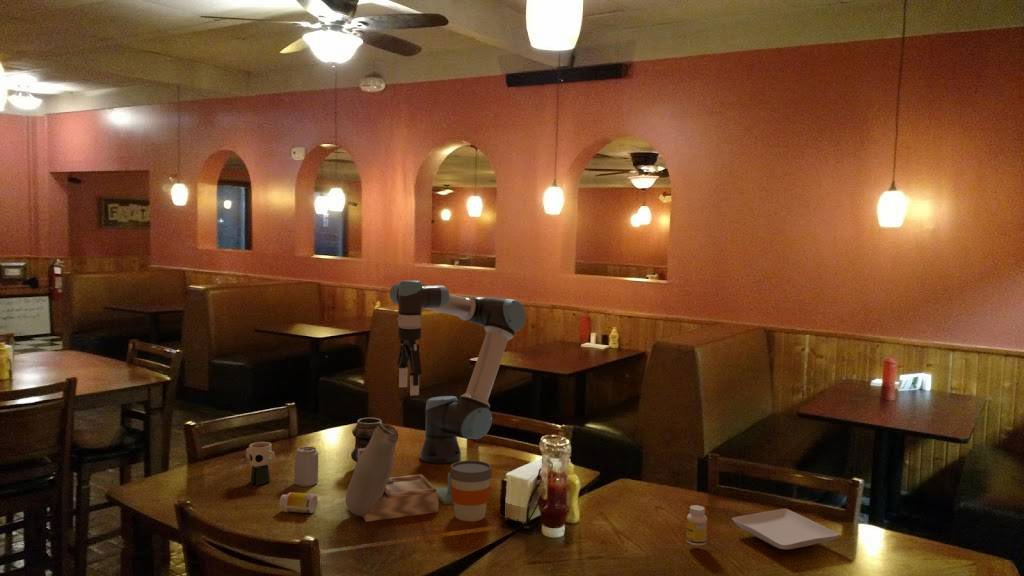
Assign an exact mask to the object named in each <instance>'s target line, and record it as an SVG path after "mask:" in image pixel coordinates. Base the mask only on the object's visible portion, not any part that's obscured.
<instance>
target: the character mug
mask: <svg viewBox="0 0 1024 576" xmlns="http://www.w3.org/2000/svg"><path fill="white" fill-rule="evenodd" d="M275 453H276V452H275V451H273V450H272V443H271V442H268V441H257V442H253V443H250V444H249V445H248V447H247V448H246V449H245V457H246V459H248V463H249V465H251V466H252V468H251V474H250V480H249V481H250V484H252V485H254V482H255V485H257V486H258V485H259V486H260V485H265V484H267V483H268V482H270V481H271V474H270V468H269V464H271V463H272V462H275V459H276V458H275V457H276V455H275Z"/></svg>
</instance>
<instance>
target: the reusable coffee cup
mask: <svg viewBox="0 0 1024 576" xmlns="http://www.w3.org/2000/svg"><path fill="white" fill-rule="evenodd" d="M449 472H450V477H451V482H452V483H451V485H450V486H451V495H452V501H453V502H454V503H453V509H454V510H453V511H454V518H456V519H458V520H459V521H462V522H478V521H481V520H483V519H485V517H486V511H487V505H488V502H489V500H490V494H491V493H490V492H491V487H492V486H491V485H492V484H491V479H492V476H493V472H492V466H491V464H490V463H488V462H485V461H480V460H471V459H470V460H458V461H456V462H453V463H451V466H450V471H449Z"/></svg>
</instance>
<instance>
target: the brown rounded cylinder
mask: <svg viewBox="0 0 1024 576" xmlns="http://www.w3.org/2000/svg"><path fill="white" fill-rule="evenodd" d="M398 441H399V432H398V431H397V429H396V428H395V427H394V426H392V425H390V424H389V423H382V424H380V425H378V426H377V427H376V428H375V430H374V431H373V434H372V437H371V439H370V442H369V444H368V445H367V446H366V448H365V449H364V451H363V452H362V454H361V455H360V457H359V459H358V461H357V462H356V463H355V466H354V470H353V472H352V475H351V479H350V481H349V484H348V487H347V489H346V493H345V505H346V508H347V509H348V511H349V512H350V513H352V514H354V515H355V516H358V517H362V516H365V515H366V514H368V513H370V512H371V511H372V510H373V508H374V506H375V505H376V503H377V501H378V500H379V499H380V498H382V495H383V493H384V490H385V488H386V485H387V482H388V480H389V478H391V474H392V472H393V468H394V464H395V463H394V462H395V450H396V445H397V443H398Z"/></svg>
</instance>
